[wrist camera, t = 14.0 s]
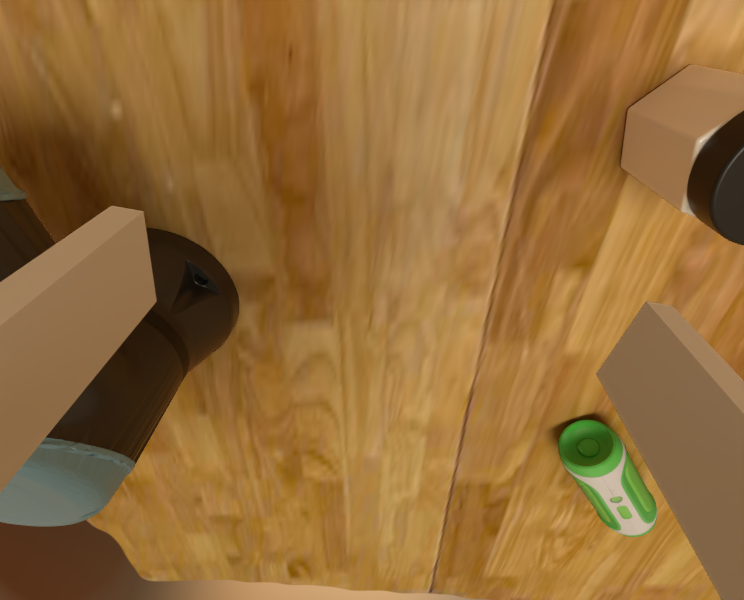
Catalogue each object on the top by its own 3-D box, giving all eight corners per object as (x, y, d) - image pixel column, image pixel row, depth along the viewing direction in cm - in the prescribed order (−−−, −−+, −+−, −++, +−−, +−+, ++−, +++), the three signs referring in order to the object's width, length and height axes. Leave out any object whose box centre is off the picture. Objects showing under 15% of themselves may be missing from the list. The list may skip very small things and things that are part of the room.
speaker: (545, 425, 53) (564, 480, 47) (604, 406, 50) (632, 461, 44) (591, 493, 61) (612, 547, 55) (644, 479, 58) (672, 534, 52)
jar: (769, 93, 31) (942, 134, 21) (687, 194, 35) (797, 266, 25) (665, 48, 29) (796, 68, 20) (594, 159, 34) (671, 220, 24)
